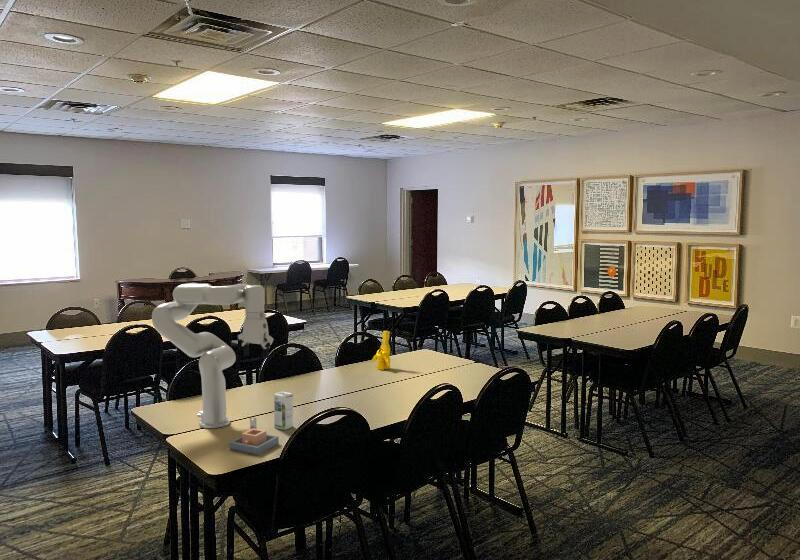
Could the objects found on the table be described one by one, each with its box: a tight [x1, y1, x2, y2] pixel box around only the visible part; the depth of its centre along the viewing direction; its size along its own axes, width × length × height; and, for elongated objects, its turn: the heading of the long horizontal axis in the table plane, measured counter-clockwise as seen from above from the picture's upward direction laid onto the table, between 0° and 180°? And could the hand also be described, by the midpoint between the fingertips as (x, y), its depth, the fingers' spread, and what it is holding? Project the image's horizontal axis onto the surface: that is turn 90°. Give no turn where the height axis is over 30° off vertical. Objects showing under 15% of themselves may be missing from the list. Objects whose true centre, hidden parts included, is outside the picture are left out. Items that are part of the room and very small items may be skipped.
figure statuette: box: [370, 330, 391, 371], centre depth 352 cm, size 18×8×22 cm, turn 39°
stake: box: [249, 417, 258, 430], centre depth 247 cm, size 2×2×6 cm
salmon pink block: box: [241, 428, 267, 447], centre depth 231 cm, size 8×6×5 cm
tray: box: [228, 433, 280, 457], centre depth 232 cm, size 13×13×3 cm
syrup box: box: [273, 391, 294, 431], centre depth 253 cm, size 6×6×14 cm
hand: (255, 356), depth 250 cm, fingers open, 9 cm apart
